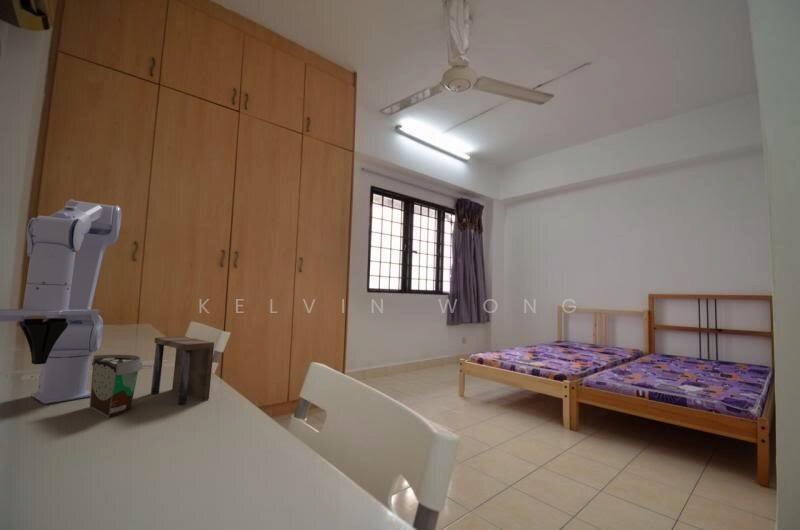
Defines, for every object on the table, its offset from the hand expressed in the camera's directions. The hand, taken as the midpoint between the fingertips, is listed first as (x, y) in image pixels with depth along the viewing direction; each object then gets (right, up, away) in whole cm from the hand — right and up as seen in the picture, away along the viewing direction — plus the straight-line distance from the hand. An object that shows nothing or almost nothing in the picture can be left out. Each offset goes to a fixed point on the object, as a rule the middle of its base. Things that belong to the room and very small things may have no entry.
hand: (38, 363), depth 62 cm
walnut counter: (+12, -13, +19) cm, 26 cm away
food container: (+6, -12, +10) cm, 16 cm away
